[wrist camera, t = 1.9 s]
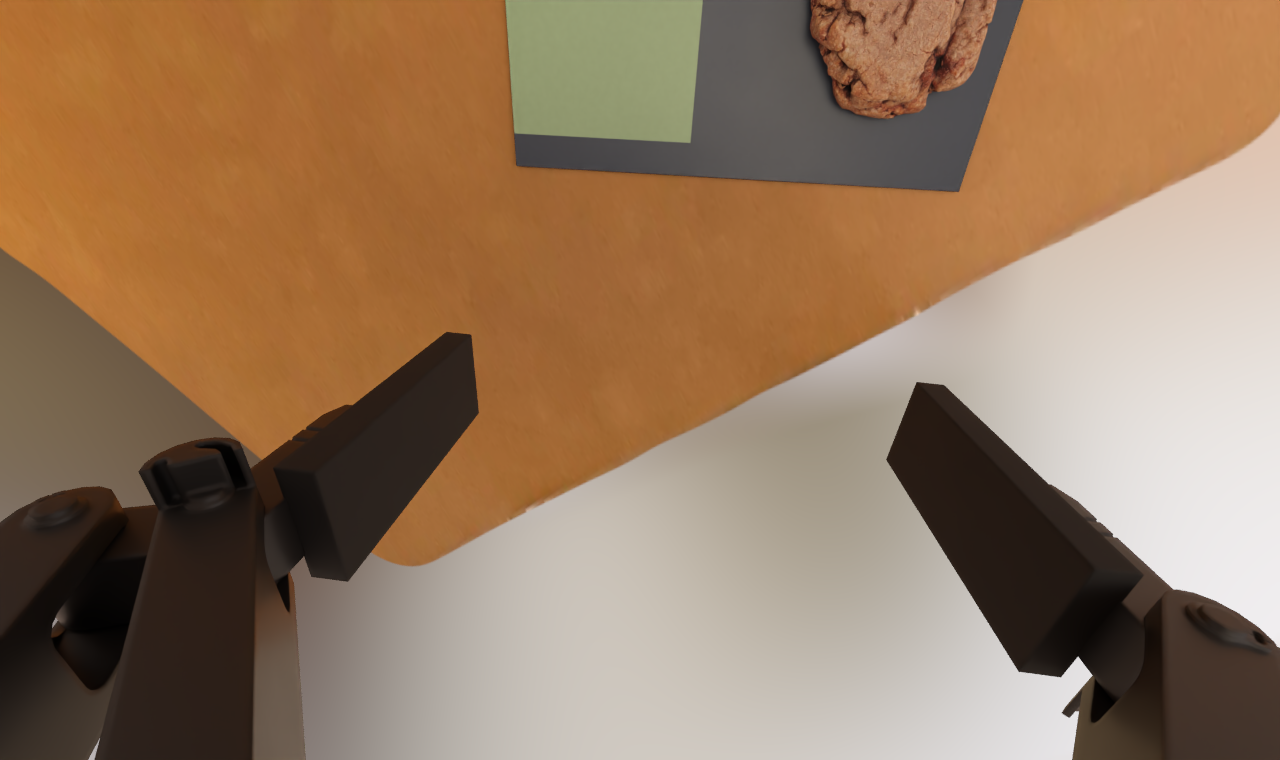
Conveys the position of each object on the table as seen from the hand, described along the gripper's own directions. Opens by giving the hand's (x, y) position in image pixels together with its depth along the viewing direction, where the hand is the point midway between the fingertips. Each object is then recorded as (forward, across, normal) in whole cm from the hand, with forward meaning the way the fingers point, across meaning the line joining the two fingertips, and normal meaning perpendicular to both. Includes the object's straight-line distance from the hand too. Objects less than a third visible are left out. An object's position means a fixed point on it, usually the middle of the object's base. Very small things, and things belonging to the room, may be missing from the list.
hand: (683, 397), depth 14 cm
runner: (+23, +2, +14) cm, 27 cm away
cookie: (+23, +10, +14) cm, 29 cm away
